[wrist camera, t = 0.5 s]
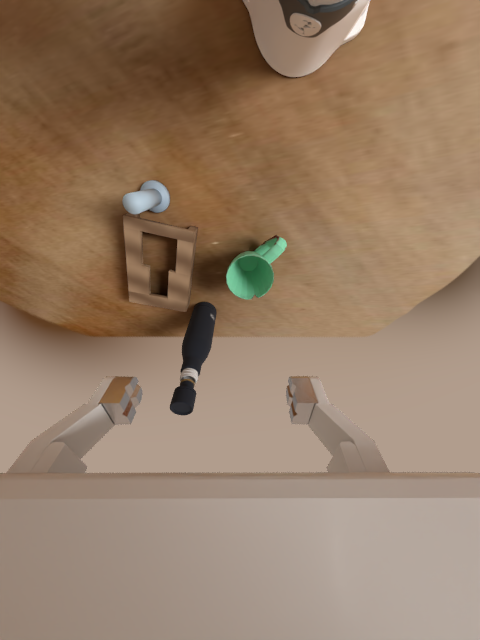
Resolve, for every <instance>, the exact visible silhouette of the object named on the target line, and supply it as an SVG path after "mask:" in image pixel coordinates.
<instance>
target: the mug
mask: <svg viewBox="0 0 480 640" xmlns="http://www.w3.org/2000/svg"><path fill="white" fill-rule="evenodd" d="M286 246H287V244H286V241H285V240H284V239H283V238H281V237H279V236H277V235H275V236H274V237H272V238H270V239H269V240H267V241H265V242H264V243H263V244H262V245H260V246H259V247H258V248H257V249H256V250H255V251H253V252H252V251H246V252H243V253H240V254H239V255H238V256H237V257H235V258H234V259H233V261H232V262H231V264H230V265H229V267H228V270H227V274H226V281H227V285H228V287H229V289H230V291H231V292H232V293H233V294H234V295H236V296H238V297H239V298H243V299H252V298H253V296H254V295H256V297H258V298H259V297H261V296H263V295H264V294H266V293H267V292H268V291H269V289H270V288H271V286H272V284H273V281H274V273H273V269H272V266H271V265H270V263H272V262H273V261H274V260H275V259H276V258H277V257H278V256H279V255H280V254H281V253H282V252H283V251H284V250H285V248H286Z"/></svg>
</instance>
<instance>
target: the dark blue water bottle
mask: <svg viewBox="0 0 480 640" xmlns="http://www.w3.org/2000/svg"><path fill="white" fill-rule="evenodd" d="M215 319H216V309H215V307H214V306H213V305H212V304H210V303H208V302H200V303H198V304H197V305H196V306H195V307H194V310H193V313H192V316H191V319H190V322H189V325H188V328H187V331H186V334H185V337H184V340H183V345H182V356H183V364H182V368H181V376H180V381H181V383H180V386H179V387H177V388H176V389H175V391H174V394H173V398H172V401H171V404H170V410H171V411H172V412H174V413H175V414H178V415H188V414H190V413H191V412H192V411H193V407H194V403H195V397H196V391H195V390H194V389H193V388H194V385H195V383H196V382H197V380H198V376H199V374H200V370H201V365H202V363H203V362H204V361H205V359H206V358H207V356H208V354H209V352H210V349H211V344H212V338H213V331H214V325H215Z"/></svg>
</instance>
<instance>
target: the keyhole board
mask: <svg viewBox="0 0 480 640" xmlns="http://www.w3.org/2000/svg"><path fill="white" fill-rule="evenodd" d="M123 225H124V238H125V251H126V264H127V277H128V290H129V302H134V303H139V304H145V305H150V306H155V307H161V308H166V309H172V310H177V311H182V312H186V311H187V309H188V306H189V304H190V295H191V286H192V276H193V267H194V258H195V249H196V240H197V230H198V227H195V226H190V227H189V229H185V228H181V227H177V226H172V225H168V224H164V223H160V222H155V221H151V220H147V219H143V218H140V215H139V214H131V213H127V214H125V215H123ZM142 231H143V232H147V233H151V234H156V235H160V236H165V237H169V238H173V239H178V241H177V257H176V271H174V270H169V275H168V296H166V295H160V294H155V293H151V289H150V265H146V264H143V241H142Z"/></svg>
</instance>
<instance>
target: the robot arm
mask: <svg viewBox="0 0 480 640" xmlns="http://www.w3.org/2000/svg"><path fill="white" fill-rule="evenodd" d="M370 1H371V0H243V2H244V4H245V6H246V7H247V9H248V11H249V14H250V17H251V21H252V26H253V31H254V35H255V38H256V42H257V44H258V47H259V49H260V51H261V53H262V55H263V57H264V58H265V60H266V61H267V63H268V64H269V65H270V66H271V67H272V68H273V69H274V70H275V71H277V72H278V73H280V74H282V75H285V76H288V77H301V76H305V75H308V74H310V73H312V72H314V71H315V70H317V69H318V68H319V67H321V66H322V65H323V64H324V63H325V62H326V61H327V60H328V58H329V57H330V56H331V55H332V54H333V53H334V51H335V50H336V49H337V48H338V47H339V46H340V45H343V44H345V43H346V42H348V41H350V40H352V39H353V38H355V37H356V36H357V35H358V34H359V32H360V31H361V29H362V27H363V25H364V23H365V19H366V14H367V10H368V5H369V2H370ZM137 383H138V379H137V378H136V377H117V376H115V377H114V376H111V377H110V376H107V377H105V378H104V379H103V380H102V382H101V383H100V385H99V386H98V388H97V389H96V391H95V392H94V394H93V395H92V397H91V399H90V400H89V402H88V403H87V404H83V405H82V406H81V407H79V408H78V409H76V410H75V411H73V412H72V413H70V414H69V415H68V416H66V417H65V418H63V419H62V420H60V421H59V422H57V423H56V424H55V425H53V426H52V427H50V428H49V429H47V430H46V431H45V432H43V433H42V434H40V435H39V436H37V437H36V438H34V439H33V440H32V441H31V442H30V443H29V444H28V445H27V447H26V448H25V449H24V451H23V452H22V453H21V454H20V456H19V457H18V459H17V460H16V461H15V462H14V464H13V465H12V466H11V467H10V469H9V470H8V471H7V473H0V640H480V473H474V472H389V470H388V468H387V466H386V464H385V462H384V460H383V458H382V456H381V454H380V452H379V450H378V448H377V446H376V444H375V442H374V440H373V439H371V438H370V437H369V436H368V435H367V434H366V433H365V432H364V431H362V430H361V429H360V428H359V427H358V426H357V425H355V423H353V422H352V421H351V420H350V419H349V418H348V417H347V416H346V415H344V414H343V413H342V412H341V411H340V410H339V409H338V408H337V407H335V406H334V405H333V404H329V402H328V399H327V396H326V394H325V391H324V389H323V386H322V384H321V381H320V379H319V377H308V376H301V377H300V376H298V377H297V376H296V377H289V380H288V383H289V385H288V386H287V390H286V397H287V403H288V405H289V406H290V411H289V413H290V418H291V422H292V424H308V425H309V427H310V428H311V429H312V431H313V432H314V433H315V435H316V436H317V437H318V438H319V439H320V441H321V442H322V443H323V444H324V446H325V447H326V448H327V449H328V451H329V452H330V453H331V454H332V455H333V457H332V459H331V461H330V463H329V464H328V466H327V471H328V472H324V473H321V472H320V473H319V472H318V473H85V471H86V469H87V466H86V465H85V464H84V463H83V462H82V461H81V460H80V459H81V458H82V457H83V456H84V455H85V454H86V453H87V452H88V451H89V450H90V449H91V448H92V447H93V446H94V445H95V444H96V443H97V442H98V441H99V440H100V439H101V438H102V437H103V436H104V435H105V434H106V433H107V432H108V431H109V430H110V429H111V428H112V427H113V426H114V425H117V424H131V423H132V420H133V418H134V416H135V413H136V410H135V407H137V406H138V405H139V404H140V401H141V398H142V389H141V387H140V386H139V385H138V384H137Z"/></svg>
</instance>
